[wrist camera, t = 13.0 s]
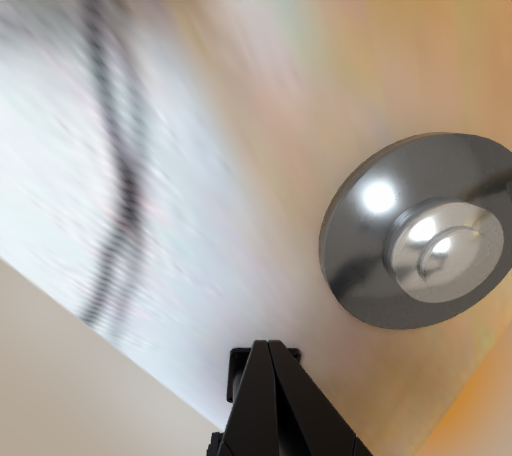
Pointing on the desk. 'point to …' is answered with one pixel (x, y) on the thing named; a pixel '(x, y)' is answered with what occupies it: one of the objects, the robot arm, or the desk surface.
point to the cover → (442, 248)
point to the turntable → (393, 205)
